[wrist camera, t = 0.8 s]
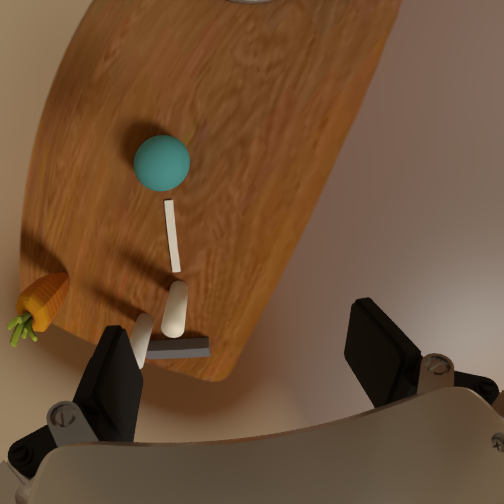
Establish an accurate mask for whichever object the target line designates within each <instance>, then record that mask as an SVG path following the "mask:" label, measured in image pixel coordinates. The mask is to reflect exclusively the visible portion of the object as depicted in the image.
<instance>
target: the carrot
mask: <svg viewBox="0 0 504 504" xmlns="http://www.w3.org/2000/svg"><path fill="white" fill-rule="evenodd" d="M69 285H70V278H69V275H68V274H67V273H64V272H60V273H51V274H48V275H46V276H44V277H42V278H40V279H38V280H36V281H35V282H34V283H33V284H31V285H30V286H29V287H28V288H26V289H25V290H24V291H23V292H22V293H21V294H20V297H19V299H18V302H17V304H16V310H17V313H18V315H19V316H17V317H16V318H14V319H13V320H12V321H10V322H9V323H8V324H7V328H8V330H11V329H12V328H13V327H14V326H15V325H16V324H17V323H18V324H17V325H16V327H15V329H14V331H13V334H12V336H11V340H10V343H11V345H12V346H14V347H16V345H17V342H18V339H19V336H20V333H21V336H22V338H24V339H25V338H26V335H27V331H28V334H29V335H30V337H31V338H32V339H33V340H34V341H36V340H37V337H36V335H35V334H34V331H45V330H46V329H47V327H48V326H49V325H50V323H51V322H52V320H53V319H54V317H55V316H56V314H57V313H58V311H59V309H60V307H61V305H62V304H63V302H64V300H65V298H66V295H67V293H68V291H69ZM21 331H22V332H21Z"/></svg>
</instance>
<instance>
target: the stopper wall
mask: <svg viewBox="0 0 504 504" xmlns="http://www.w3.org/2000/svg"><path fill="white" fill-rule="evenodd" d="M206 356H210V344H209V337H205V338H190V339H172V340H149V343H148V347H147V351H146V357H147V359H170V358H191V357H206Z"/></svg>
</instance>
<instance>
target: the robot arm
mask: <svg viewBox="0 0 504 504" xmlns="http://www.w3.org/2000/svg"><path fill="white" fill-rule="evenodd" d="M229 1H233V2H238V3H262V2H268V1H271V0H229ZM344 356H345V359H346V361H347V362H348V364H349V366H350V368H351V369H352V371H353V372H354V374H355V375H356V377H357V379H358V380H359V382H360V384H361V386H362V387H363V389H364V390H365V392H366V394H367V395H368V397H369V399H370V400H371V402H372V404H373V405H374V407H375V409H372V410H369V411H366V412H362V413H360V414H356V415H352V416H349V417H346V418H342V419H338V420H334V421H331V422H327V423H323V424H319V425H314V426H310V427H305V428H301V429H296V430H291V431H286V432H281V433H275V434H268V435H262V436H255V437H247V438H239V439H229V440H218V441H205V442H186V443H185V442H183V443H139V442H133V440H134V433H135V427H136V421H137V414H138V409H139V403H140V398H141V393H142V388H143V377H142V374H141V371H140V368H139V366H138V363H137V360H136V358H135V355H134V352H133V349H132V346H131V343H130V341H129V338H128V335H127V332H126V330H125V329H122V327H121V326H120V325H114V326H106V328H105V330H104V332H103V334H102V336H101V338H100V341H99V343H98V345H97V347H96V349H95V352H94V354H93V356H92V357H91V359H90V360H89V362H88V364H87V367H86V369H85V371H84V374H83V377H82V379H81V381H80V384H79V386H78V388H77V391H76V393H75V396H74V398H73V401H72V402H71V401H61V402H58V403H56V404H55V405H53V406H52V407H51V408H50V409H49V411H48V413H47V418H46V419H47V423H48V424H47V425H45V426H44V427H42V428H40V429H38V430H36V431H35V432H33V433H31V434H29V435H27V436H25V437H24V438H22V439H20V440H18V441H16V442H15V443H13V444H12V446H11V447H10V449H9V451H8V460H9V461H8V462H7V463H6V462H5V461H3V462H2V463H1V464H0V504H504V390H502V392H501V393H500V392H499V389H498V386H497V384H496V383H495V382H494V381H493V380H491V379H489V378H486V377H482V376H477V375H472V374H468V373H463V372H458V371H454V365H453V363H452V361H451V360H450V359H449V358H448V357H446V356H444V355H442V354H436V353H432V354H428V355H426V356H425V357H423V356H422V355H421V351H420V350H419V349H418V348H417V347H416V346H415V344H413V342H412V341H411V340H410V339H409V338H408V337H407V336H406V335H405V334H404V333H403V332H402V331H401V329H400V328H398V326H397V325H396V324H395V323H394V322H393V321H392V320H391V319H390V318H389V317H388V316H387V315H386V314H385V313H384V312H383V311H382V310H381V309H380V308H379V307H378V306H377V305H376V304H375V303H374V302H373V300H372V299H371V298H369V297H367V298H361V299H357V300H356V301H355V303H353V304H352V306H351V312H350V319H349V326H348V332H347V338H346V344H345V350H344Z"/></svg>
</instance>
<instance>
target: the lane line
mask: <svg viewBox="0 0 504 504" xmlns="http://www.w3.org/2000/svg"><path fill="white" fill-rule="evenodd" d="M164 203H165V213H166V223H167V232H168V240H169V249H170V256H171V264H172V271H173V272H181V270H180V262H179V254H178V246H177V237H176V228H175V218H174V207H173V200H166V201H164Z"/></svg>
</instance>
